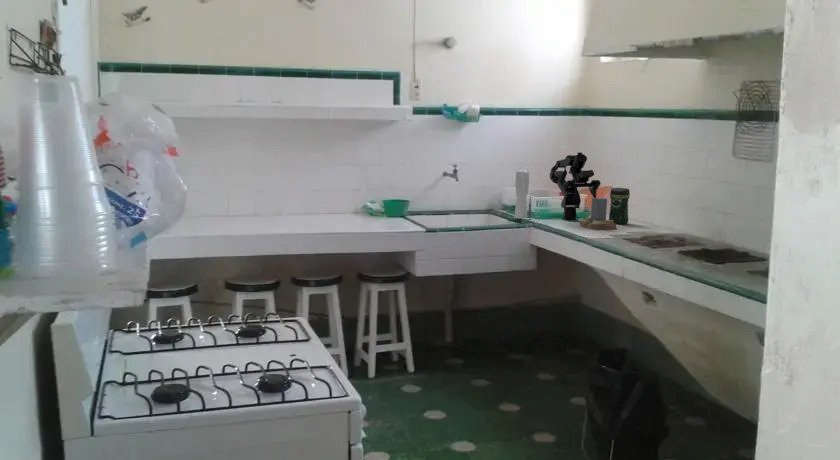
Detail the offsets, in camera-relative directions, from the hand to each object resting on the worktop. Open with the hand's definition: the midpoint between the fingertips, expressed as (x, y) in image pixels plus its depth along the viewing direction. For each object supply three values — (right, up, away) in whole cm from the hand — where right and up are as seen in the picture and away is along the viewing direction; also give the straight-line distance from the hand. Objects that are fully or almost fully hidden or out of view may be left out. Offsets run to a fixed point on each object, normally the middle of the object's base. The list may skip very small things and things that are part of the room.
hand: (587, 198), depth 388 cm
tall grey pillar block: (+4, -12, -7) cm, 15 cm away
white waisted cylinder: (-31, -11, +18) cm, 38 cm away
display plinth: (+4, -15, -7) cm, 17 cm away
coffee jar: (+18, -13, +9) cm, 24 cm away
